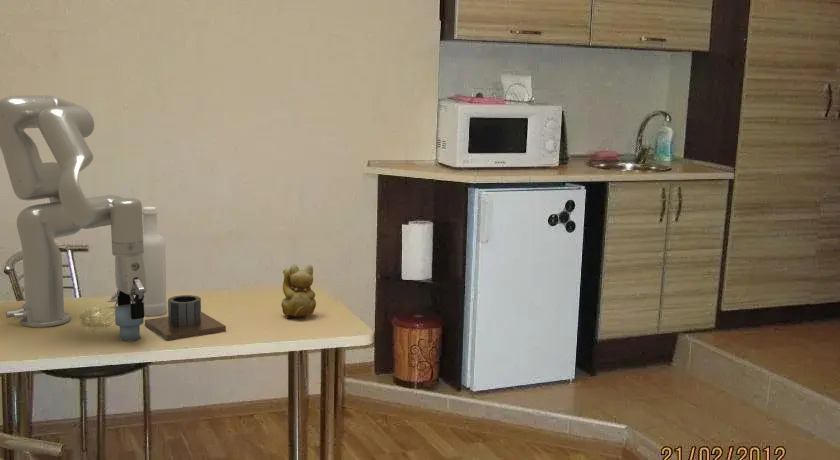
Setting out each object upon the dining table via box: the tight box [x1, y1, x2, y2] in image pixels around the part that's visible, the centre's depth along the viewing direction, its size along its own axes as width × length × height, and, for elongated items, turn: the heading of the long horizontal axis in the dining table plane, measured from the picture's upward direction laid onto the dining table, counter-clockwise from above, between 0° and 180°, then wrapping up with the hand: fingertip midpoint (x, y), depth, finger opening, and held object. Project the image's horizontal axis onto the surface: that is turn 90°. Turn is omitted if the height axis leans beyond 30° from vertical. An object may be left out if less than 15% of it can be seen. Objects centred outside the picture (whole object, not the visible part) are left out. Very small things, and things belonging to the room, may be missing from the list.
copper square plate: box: [144, 294, 227, 342], centre depth 231 cm, size 16×16×8 cm
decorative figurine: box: [281, 263, 317, 320], centre depth 244 cm, size 10×8×15 cm
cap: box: [114, 304, 145, 342], centre depth 221 cm, size 7×7×8 cm
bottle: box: [142, 206, 168, 317], centre depth 242 cm, size 8×8×30 cm
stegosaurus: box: [106, 292, 120, 308], centre depth 249 cm, size 2×7×5 cm, turn 115°
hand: (131, 314), depth 220 cm, fingers open, 9 cm apart
